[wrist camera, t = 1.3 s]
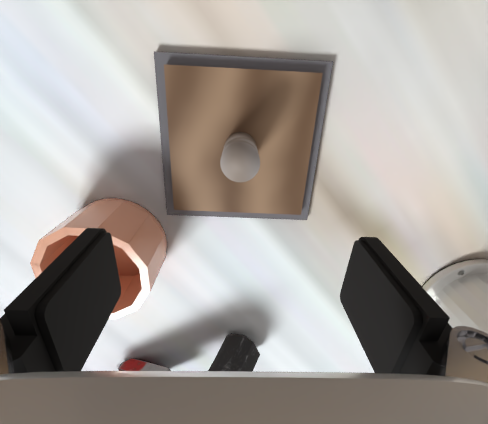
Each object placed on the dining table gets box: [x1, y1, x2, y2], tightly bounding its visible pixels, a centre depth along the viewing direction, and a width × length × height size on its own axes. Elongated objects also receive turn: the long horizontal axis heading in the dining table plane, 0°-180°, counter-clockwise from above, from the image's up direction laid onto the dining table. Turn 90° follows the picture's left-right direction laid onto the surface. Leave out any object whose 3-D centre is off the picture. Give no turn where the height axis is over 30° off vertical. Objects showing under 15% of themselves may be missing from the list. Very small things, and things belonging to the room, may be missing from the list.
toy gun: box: [118, 333, 260, 372], centre depth 38 cm, size 5×22×15 cm, turn 111°
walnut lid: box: [164, 64, 323, 215], centre depth 24 cm, size 14×14×6 cm
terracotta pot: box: [30, 198, 167, 319], centre depth 29 cm, size 11×11×7 cm
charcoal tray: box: [154, 52, 333, 220], centre depth 28 cm, size 16×16×1 cm
